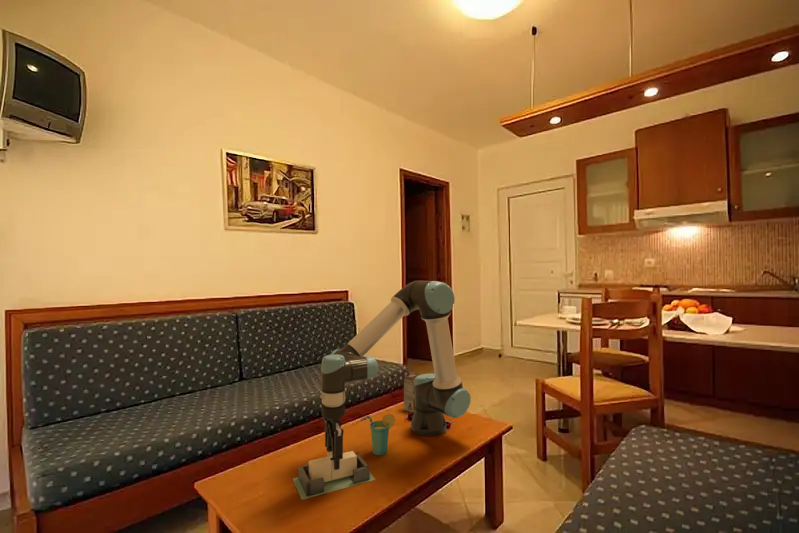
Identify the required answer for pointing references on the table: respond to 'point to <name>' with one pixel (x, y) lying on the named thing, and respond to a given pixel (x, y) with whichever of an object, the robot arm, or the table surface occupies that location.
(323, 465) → the slat
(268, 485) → the table surface
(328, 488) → the mat
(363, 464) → the grey u-shaped bracket
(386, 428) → the cup
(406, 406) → the coffee box
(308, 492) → the cap
